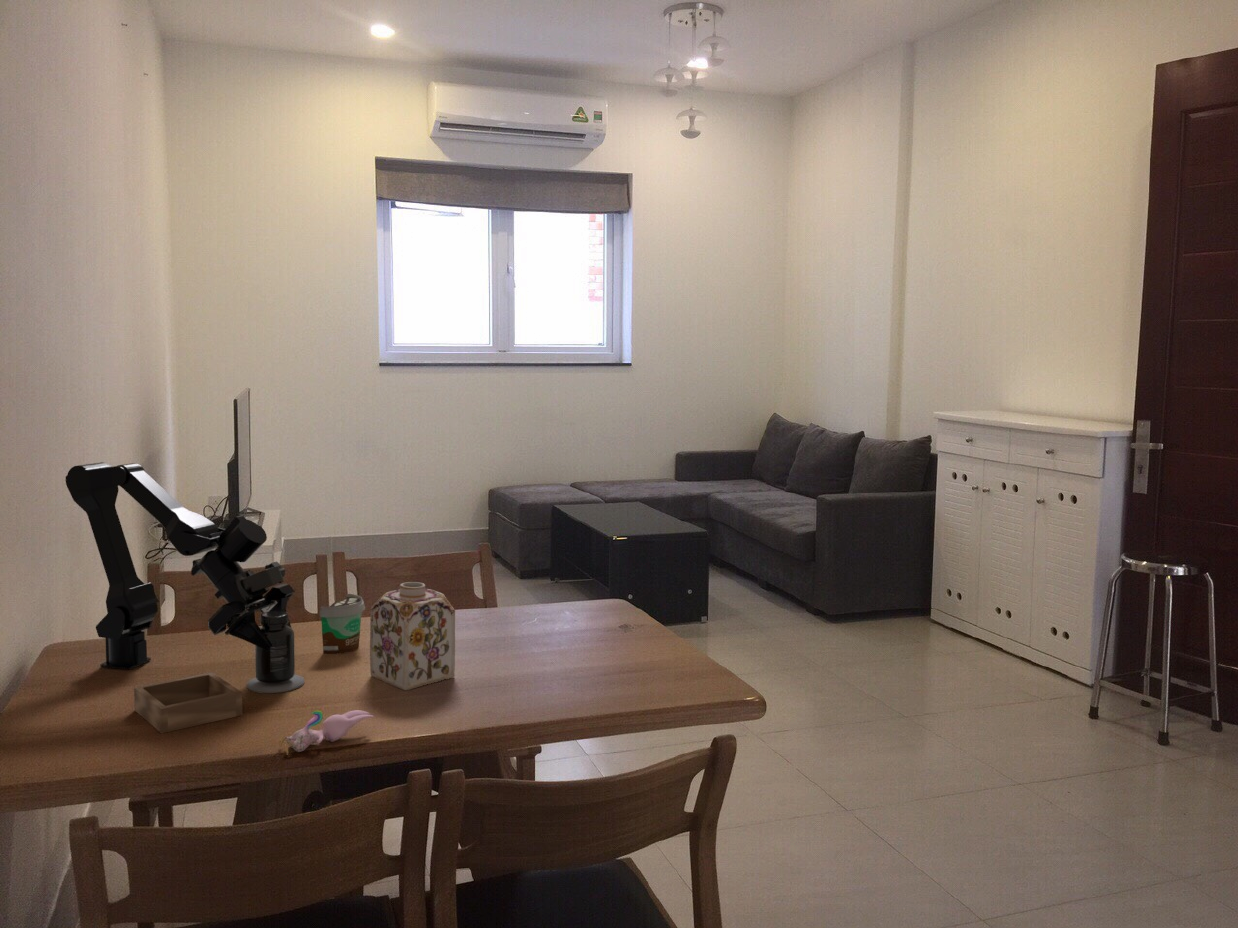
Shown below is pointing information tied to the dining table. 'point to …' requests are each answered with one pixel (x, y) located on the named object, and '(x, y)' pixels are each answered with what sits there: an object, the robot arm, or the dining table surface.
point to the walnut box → (187, 702)
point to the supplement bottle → (275, 649)
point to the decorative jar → (412, 637)
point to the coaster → (275, 685)
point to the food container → (342, 625)
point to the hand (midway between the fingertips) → (281, 643)
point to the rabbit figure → (324, 729)
